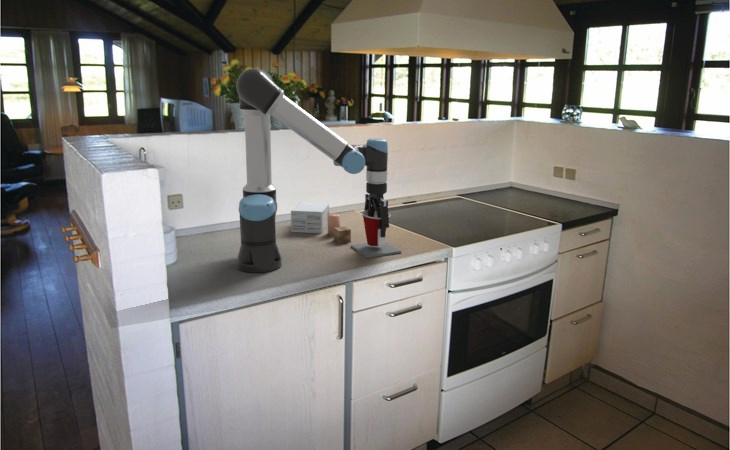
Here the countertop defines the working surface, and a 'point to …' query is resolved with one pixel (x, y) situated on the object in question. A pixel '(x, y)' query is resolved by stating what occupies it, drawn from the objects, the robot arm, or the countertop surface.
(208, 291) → the countertop surface
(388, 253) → the mat
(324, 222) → the supplement box
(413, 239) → the countertop surface
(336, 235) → the walnut block
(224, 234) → the countertop surface
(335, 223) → the pink cylinder
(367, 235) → the plastic cup
